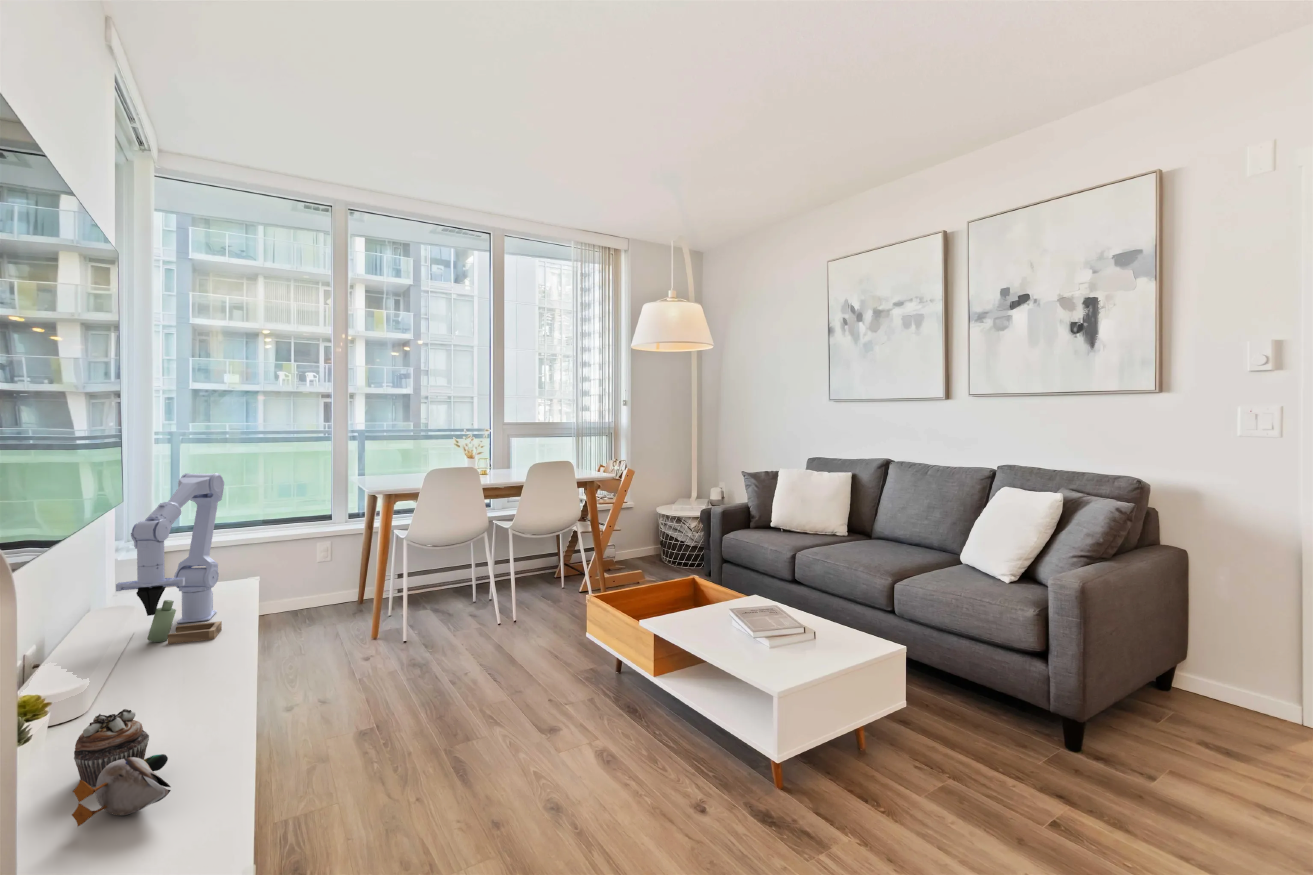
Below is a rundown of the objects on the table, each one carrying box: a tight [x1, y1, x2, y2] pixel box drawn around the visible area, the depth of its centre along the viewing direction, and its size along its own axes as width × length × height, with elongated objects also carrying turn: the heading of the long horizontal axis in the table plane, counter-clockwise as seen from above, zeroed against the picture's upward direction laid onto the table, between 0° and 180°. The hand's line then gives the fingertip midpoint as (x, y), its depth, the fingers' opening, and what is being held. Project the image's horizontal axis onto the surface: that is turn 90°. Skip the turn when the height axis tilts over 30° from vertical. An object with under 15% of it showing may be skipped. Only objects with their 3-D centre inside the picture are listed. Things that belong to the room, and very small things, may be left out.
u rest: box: [167, 620, 223, 645], centre depth 171 cm, size 8×10×2 cm
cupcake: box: [73, 708, 150, 788], centre depth 104 cm, size 10×10×10 cm
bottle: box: [146, 599, 177, 643], centre depth 168 cm, size 4×4×10 cm
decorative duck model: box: [71, 753, 172, 827], centre depth 97 cm, size 15×8×15 cm
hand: (151, 614), depth 167 cm, fingers closed
